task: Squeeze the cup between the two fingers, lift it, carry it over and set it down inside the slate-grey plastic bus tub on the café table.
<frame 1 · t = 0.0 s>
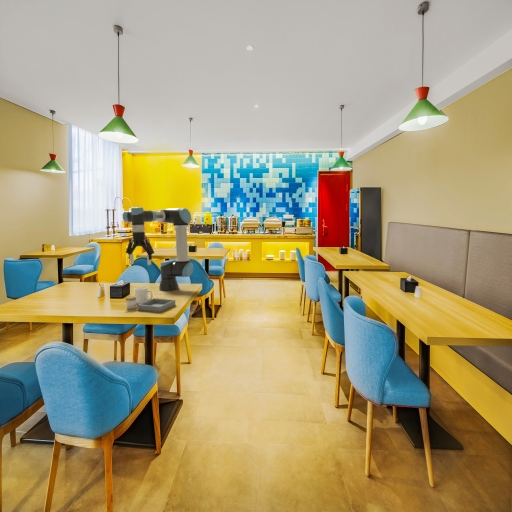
hand: (140, 264, 207), 28 cm above the table, fingers open, 13 cm apart
cup: (144, 302, 220), on the table
sugar pot: (131, 307, 208), on the table
bus tub: (157, 307, 207), on the table
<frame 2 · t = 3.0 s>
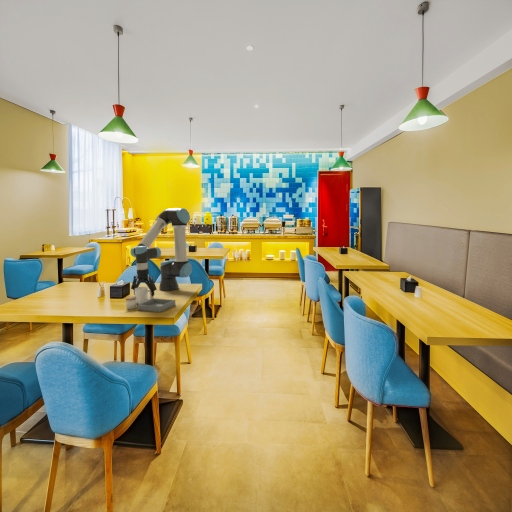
hand: (144, 299, 220), 2 cm above the table, fingers closed on cup, 12 cm apart
cup: (144, 302, 220), on the table, touching gripper
everything else where it was.
when the fingers open (4 cm above the table, at t = 9.5 s): cup drops 2 cm, resting on bus tub.
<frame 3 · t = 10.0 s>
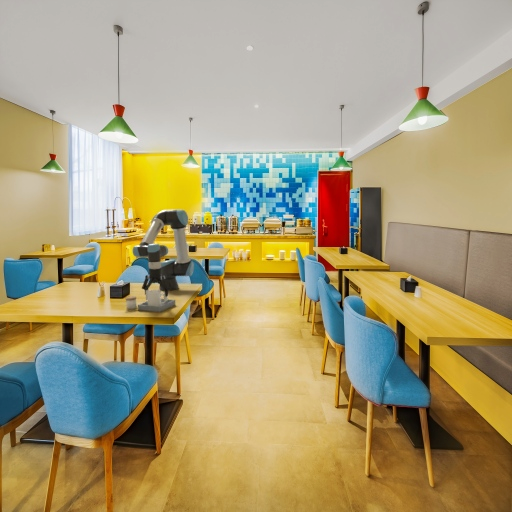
hand: (156, 300, 207), 5 cm above the table, fingers open, 13 cm apart
cup: (157, 307, 207), resting on bus tub
everything else where it was.
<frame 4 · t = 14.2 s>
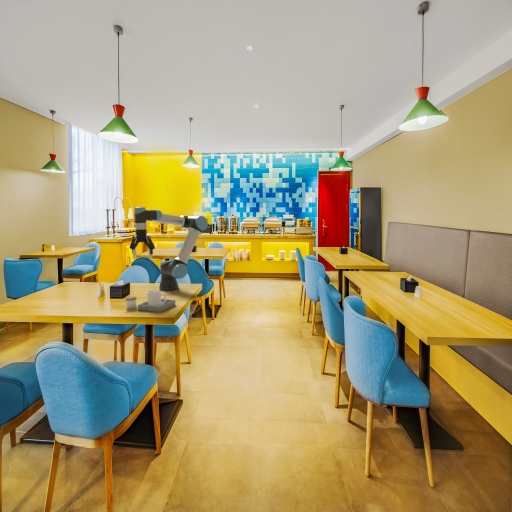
hand: (142, 258, 229), 29 cm above the table, fingers open, 13 cm apart
nothing on the table moved.
at the end: cup inside the target area on the bus tub (0.3 cm from its centre), point 0.4 cm above the bus tub's base; cup tilted 0°; the gripper is holding nothing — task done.
